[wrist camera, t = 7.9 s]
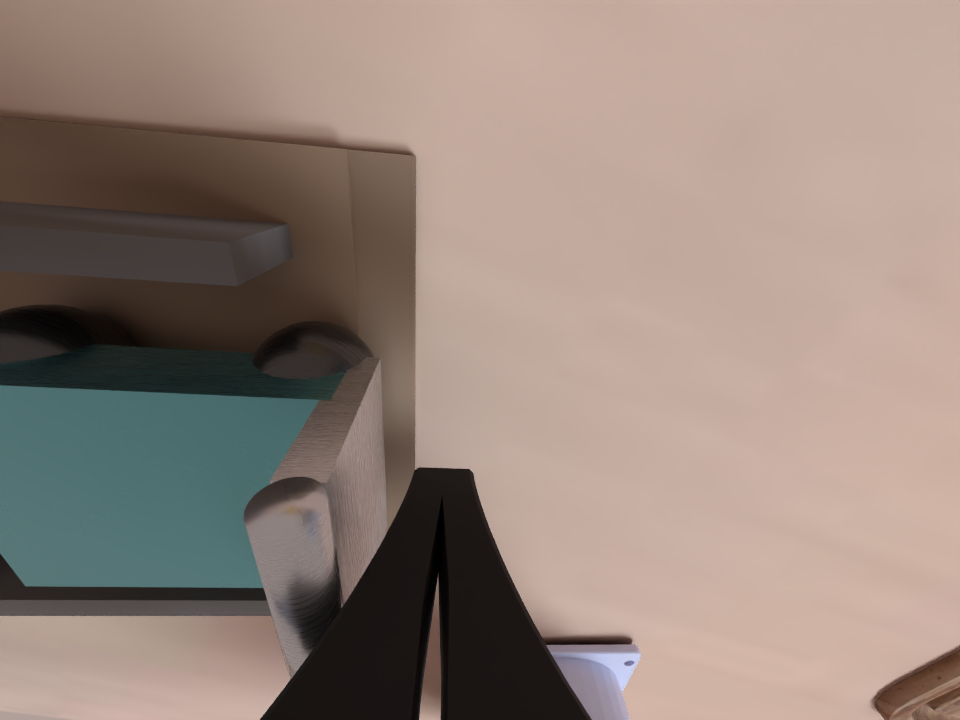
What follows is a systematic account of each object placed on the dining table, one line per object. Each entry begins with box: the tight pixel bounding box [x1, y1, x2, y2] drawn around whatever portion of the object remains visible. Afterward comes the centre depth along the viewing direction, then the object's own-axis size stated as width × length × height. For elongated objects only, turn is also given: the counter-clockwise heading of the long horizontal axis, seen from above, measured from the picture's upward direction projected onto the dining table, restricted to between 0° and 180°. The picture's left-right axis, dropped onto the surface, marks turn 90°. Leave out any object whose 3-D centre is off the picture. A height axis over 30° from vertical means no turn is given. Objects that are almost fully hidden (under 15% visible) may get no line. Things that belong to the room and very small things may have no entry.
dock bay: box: [0, 116, 416, 616], centre depth 10 cm, size 15×14×3 cm
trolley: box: [0, 304, 387, 680], centre depth 8 cm, size 7×9×6 cm
